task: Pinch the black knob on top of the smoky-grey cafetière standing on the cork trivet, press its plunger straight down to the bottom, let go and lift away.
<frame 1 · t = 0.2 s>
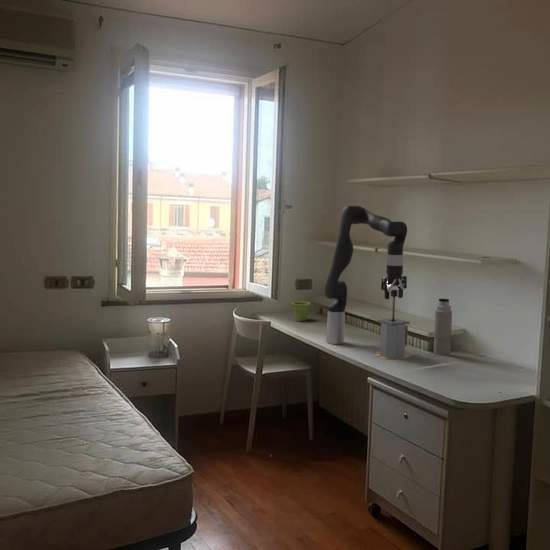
hand: (393, 298, 291), 30 cm above the table, fingers open, 8 cm apart
plunger: (393, 309, 297), point 23 cm above the table, slide at 0.0 cm
trivet: (392, 357, 300), on the table
carafe: (392, 355, 300), resting on trivet
thermos bottle: (441, 355, 305), on the table
plant pot: (300, 320, 397), on the table
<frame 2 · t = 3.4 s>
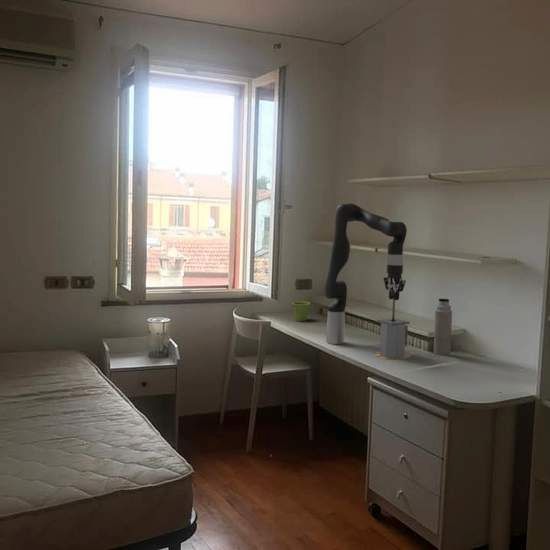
hand: (393, 299, 297), 28 cm above the table, fingers closed on plunger, 3 cm apart
plunger: (393, 309, 297), point 23 cm above the table, slide at 0.0 cm, touching gripper
everything else where it was.
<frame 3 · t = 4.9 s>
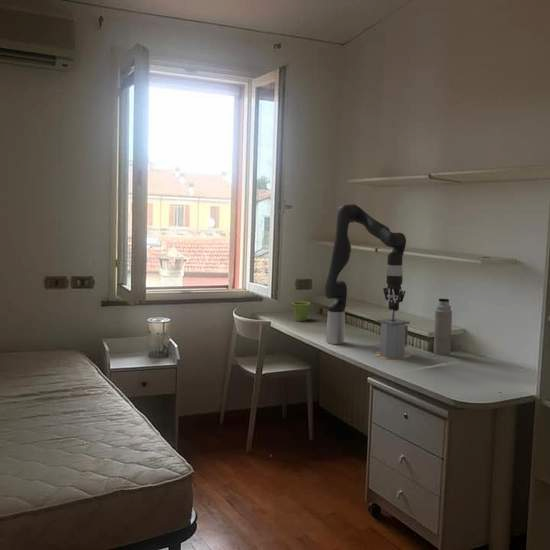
hand: (393, 309, 297), 23 cm above the table, fingers closed on plunger, 3 cm apart
plunger: (393, 320, 298), point 18 cm above the table, slide at 5.1 cm, touching gripper
everything else where it was.
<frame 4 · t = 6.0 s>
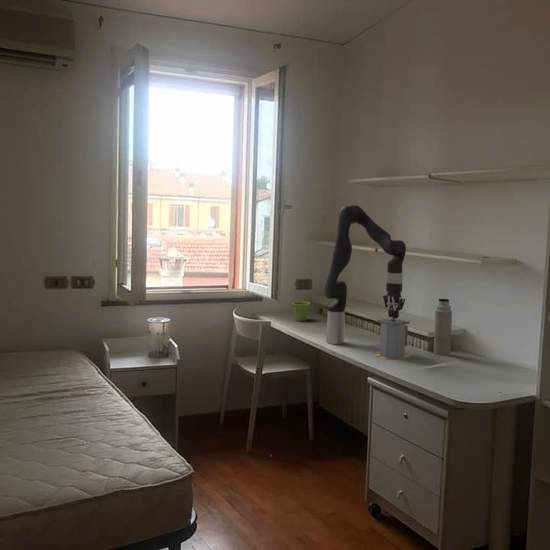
hand: (393, 317, 298), 20 cm above the table, fingers closed on plunger, 3 cm apart
plunger: (393, 327, 298), point 14 cm above the table, slide at 8.8 cm, touching gripper
everything else where it was.
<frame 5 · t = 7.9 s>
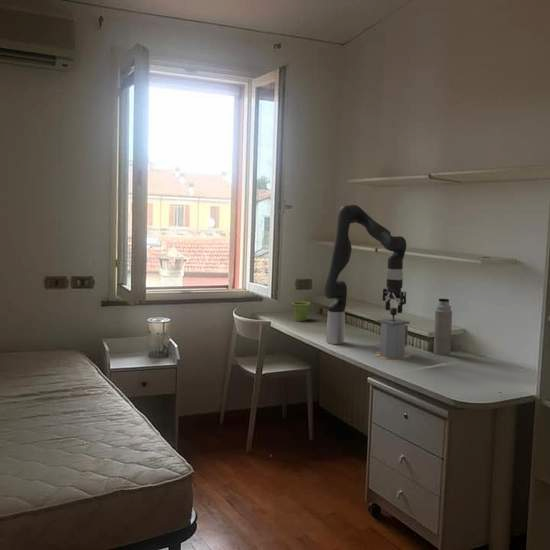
hand: (393, 311, 297), 22 cm above the table, fingers open, 8 cm apart
plunger: (393, 327, 298), point 14 cm above the table, slide at 8.8 cm
everything else where it was.
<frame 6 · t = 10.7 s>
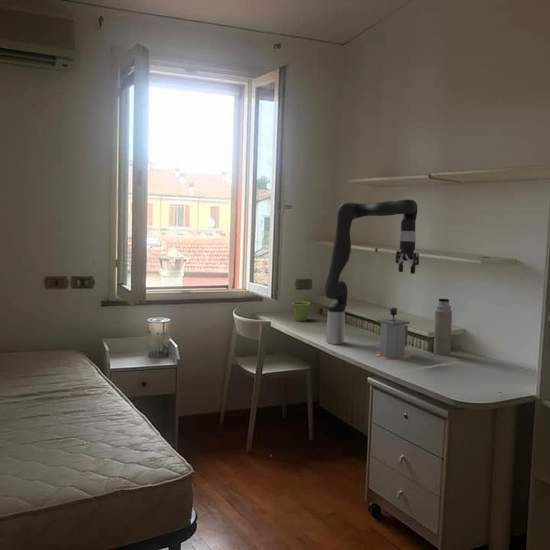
hand: (406, 272, 307), 40 cm above the table, fingers open, 8 cm apart
nothing on the table moved.
at the end: plunger slide at 8.8 cm; the gripper is holding nothing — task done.
